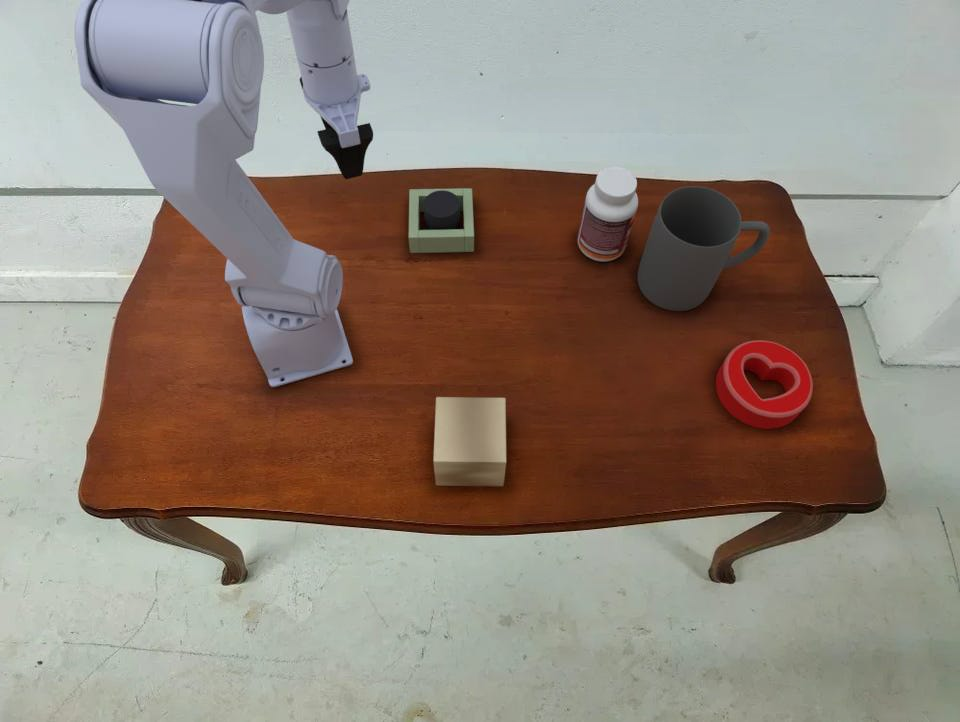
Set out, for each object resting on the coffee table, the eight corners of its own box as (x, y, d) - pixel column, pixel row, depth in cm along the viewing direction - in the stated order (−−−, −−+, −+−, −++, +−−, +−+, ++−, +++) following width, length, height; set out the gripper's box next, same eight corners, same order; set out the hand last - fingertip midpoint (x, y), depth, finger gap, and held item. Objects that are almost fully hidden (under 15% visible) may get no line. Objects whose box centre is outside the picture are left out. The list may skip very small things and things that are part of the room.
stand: (435, 485, 73) (433, 461, 67) (438, 424, 77) (436, 396, 71) (503, 486, 73) (506, 462, 68) (502, 425, 77) (505, 397, 71)
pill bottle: (630, 261, 88) (650, 199, 79) (582, 266, 88) (596, 204, 78) (619, 223, 92) (636, 159, 82) (572, 228, 91) (584, 164, 82)
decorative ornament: (721, 426, 77) (731, 414, 74) (710, 351, 82) (719, 336, 79) (810, 430, 77) (822, 418, 74) (794, 354, 82) (805, 340, 79)
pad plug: (431, 245, 89) (429, 221, 85) (420, 219, 91) (418, 195, 88) (465, 236, 90) (464, 212, 86) (453, 211, 92) (453, 186, 88)
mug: (643, 315, 84) (668, 250, 74) (629, 255, 89) (650, 186, 79) (754, 309, 85) (794, 244, 75) (735, 249, 90) (770, 181, 79)
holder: (410, 253, 89) (408, 237, 86) (411, 205, 93) (409, 189, 90) (474, 252, 89) (474, 236, 86) (471, 204, 93) (472, 188, 90)
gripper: (382, 86, 68) (394, 187, 80) (345, 1, 75) (361, 105, 87) (310, 102, 67) (333, 202, 79) (279, 14, 74) (305, 118, 86)
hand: (344, 153), depth 83 cm, fingers open, 7 cm apart
